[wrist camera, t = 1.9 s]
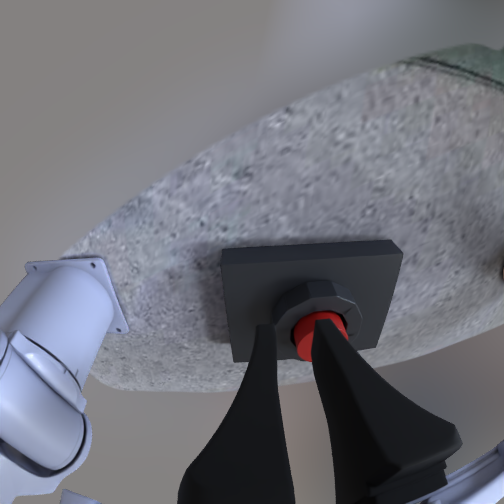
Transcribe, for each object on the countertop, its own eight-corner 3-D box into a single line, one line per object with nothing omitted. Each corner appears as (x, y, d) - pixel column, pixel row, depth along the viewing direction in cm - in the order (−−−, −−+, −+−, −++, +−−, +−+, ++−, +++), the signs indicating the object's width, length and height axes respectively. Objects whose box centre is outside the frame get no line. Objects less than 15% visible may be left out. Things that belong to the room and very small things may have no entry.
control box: (233, 344, 25) (233, 379, 22) (222, 248, 20) (218, 281, 17) (368, 331, 25) (382, 362, 22) (391, 239, 20) (415, 266, 17)
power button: (292, 347, 20) (295, 365, 19) (294, 312, 19) (298, 330, 17) (337, 342, 20) (343, 359, 19) (345, 307, 19) (352, 324, 17)
